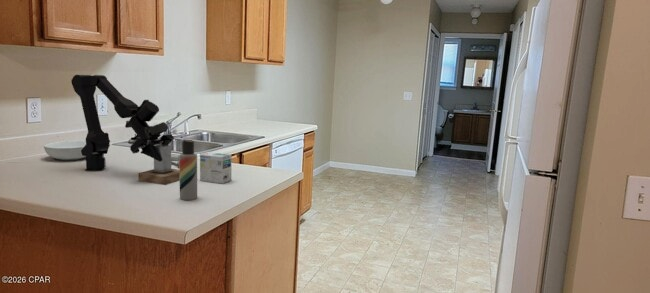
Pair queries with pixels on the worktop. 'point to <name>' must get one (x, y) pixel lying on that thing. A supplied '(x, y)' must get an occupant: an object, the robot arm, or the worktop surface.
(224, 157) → the light bulb box
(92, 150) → the robot arm
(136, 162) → the worktop surface
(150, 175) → the wooden square hole board
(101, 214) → the worktop surface
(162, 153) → the steel peg
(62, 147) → the serving bowl
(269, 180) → the worktop surface
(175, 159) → the grey metal cylinder
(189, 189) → the lotion bottle
